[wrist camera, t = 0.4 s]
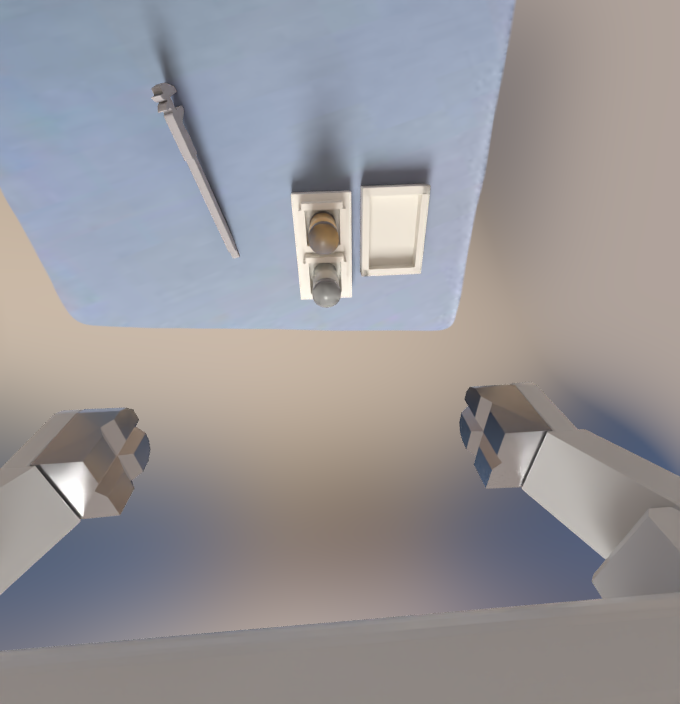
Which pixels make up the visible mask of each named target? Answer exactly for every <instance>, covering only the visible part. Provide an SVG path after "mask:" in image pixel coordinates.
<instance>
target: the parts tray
mask: <svg viewBox="0 0 680 704" xmlns="http://www.w3.org/2000/svg"><path fill="white" fill-rule="evenodd" d="M429 195H430V185H428V184H400V185H372V186H361V205H360V272H361V275H362V276H381V275H403V274H421V266H422V258H423V249H424V240H425V231H426V222H427V213H428V204H429Z"/></svg>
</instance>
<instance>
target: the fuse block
mask: <svg viewBox="0 0 680 704" xmlns="http://www.w3.org/2000/svg"><path fill="white" fill-rule="evenodd" d="M291 202H292V212H293V222H294V232H295V242H296V252H297V262H298V272H299V283H300V293H301V300H303V299H314V301H315V303H316V304H318V305H319V306H321V307H325V308H328V307H332V306H334V305H336V304H337V303H338V302H339V300H340V298H344V297H352V249H351V191H350V190H346V191H319V192H292V193H291ZM318 211H327V212H329V213H330V214H332V216H333V217H334V219H335V221H336V227H337V231H338V234H339V244H338V247H337V249H336V250H335V251H334V252H332V253H331V254H328V255H320V254H317V253H315V252H314V251H313V250H312V249H311V247H310V245H309V242H308V235H309V223H310V219H311V217H312V216H313V215H314V214H315V213H316V212H318Z"/></svg>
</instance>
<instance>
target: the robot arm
mask: <svg viewBox="0 0 680 704" xmlns="http://www.w3.org/2000/svg"><path fill="white" fill-rule="evenodd" d="M465 401H466V403H467V404H468V407H467V408H466V409H465V410H464V411H463V412H462V413H461V417H460V422H459V424H460V434H461V438H462V441H463V443H464V446H465V447H466V449H467V450H468V451H469V452H471V453H472V454H473V455H475V456H476V458H475V463H474V466H475V468H476V470H477V472H478V474H479V476H480V478H481V480H482V482H483V484H484V486H485V488H507V487H522V489H523V490H524V491H525V492H526V493H527V494H529V495H530V496H531V497H532V498H533V499H534V500H536V501H537V502H538V503H539V504H541V505H542V506H543V507H544V508H545V509H546V510H548V511H549V512H550V513H551V514H552V515H553V516H555V517H556V518H557V519H558V520H559V521H561V522H562V523H563V524H564V525H565V526H567V527H568V528H569V529H570V530H571V531H572V532H574V533H575V534H576V535H577V536H578V537H580V538H581V539H582V540H583V541H584V542H586V543H587V544H588V545H589V546H590V547H592V548H593V549H594V550H595V551H596V552H598V553H599V554H600V555H601V556H602V557H603V558H605V559H606V560H605V561H604V563H603V564H602V565H601V566H600V567H599V568H598V570H597V571H596V572H595V573H594V576H593V579H592V582H593V584H594V585H595V587H596V589H597V590H598V592H599V594H600V595H601V597H602V599H595V600H583V601H572V602H560V603H548V604H537V605H525V606H515V607H502V608H491V609H479V610H468V611H456V612H445V613H433V614H422V615H410V616H398V617H387V618H375V619H364V620H353V621H341V622H331V623H330V622H329V623H318V624H307V625H295V626H283V627H271V628H260V629H249V630H237V631H225V632H214V633H202V634H192V635H179V636H169V637H156V638H145V639H133V640H122V641H110V642H99V643H88V644H76V645H64V646H53V647H42V648H31V649H18V650H7V651H0V704H680V477H679V476H677V475H675V474H673V473H671V472H669V471H667V470H665V469H663V468H661V467H659V466H657V465H655V464H653V463H651V462H649V461H647V460H645V459H643V458H641V457H639V456H637V455H635V454H633V453H631V452H629V451H627V450H625V449H623V448H621V447H619V446H617V445H615V444H613V443H611V442H609V441H607V440H605V439H603V438H601V437H599V436H597V435H595V434H593V433H591V432H589V431H587V430H585V429H581V430H578V429H577V428H576V427H575V426H574V425H573V424H572V423H571V422H570V421H569V420H568V418H566V416H565V415H564V414H563V413H562V412H561V411H560V410H559V409H558V408H557V407H556V405H555V404H554V403H553V402H552V401H551V400H550V399H549V398H548V397H547V396H546V395H545V393H544V392H543V391H542V390H541V389H540V388H539V387H538V386H537V385H536V384H534V383H532V382H524V383H512V384H504V385H490V386H474V387H469V389H468V390H467V391H466V396H465ZM138 421H139V419H138V417H137V415H136V414H135V412H134V410H133V409H129V408H107V409H84V410H64V411H61V412H58V413H56V414H54V415H53V416H52V417H51V418H50V419H49V420H48V421H47V422H46V423H45V424H44V425H43V426H42V427H41V428H40V429H39V430H38V431H37V432H36V433H35V434H34V435H33V436H32V437H31V438H30V439H29V440H28V441H27V442H26V443H25V444H24V445H23V446H22V447H21V448H20V449H19V450H18V451H17V452H16V453H15V454H14V455H13V456H12V457H11V459H10V460H9V461H8V462H7V463H6V464H5V465H4V466H3V467H2V468H0V595H1V594H2V593H3V592H4V591H5V590H6V589H7V588H8V587H9V586H10V585H11V584H12V583H13V582H15V581H16V580H17V579H18V578H19V577H20V576H21V575H22V574H24V573H25V572H26V571H27V570H28V569H29V568H30V567H31V566H32V565H33V564H34V563H36V562H37V561H38V560H39V559H40V558H41V557H42V556H43V555H44V554H45V553H46V552H48V551H49V550H50V549H51V548H52V547H53V546H54V545H55V544H56V543H57V542H58V541H60V540H61V539H62V538H63V537H64V536H65V535H66V534H67V533H68V532H69V531H71V529H73V528H74V527H75V526H76V525H77V524H78V523H79V522H80V519H87V518H97V517H107V516H117V515H120V514H121V512H122V511H123V509H124V507H125V505H126V503H127V501H128V499H129V497H130V496H131V494H132V492H133V490H134V485H133V482H132V480H133V479H135V478H136V477H137V476H138V475H140V474H141V473H142V472H143V471H144V469H145V467H146V465H147V463H148V461H149V455H150V443H149V439H148V437H147V435H146V433H145V432H143V431H142V430H140V429H139V428H137V427H136V425H137V423H138Z"/></svg>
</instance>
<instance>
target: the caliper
mask: <svg viewBox="0 0 680 704" xmlns="http://www.w3.org/2000/svg"><path fill="white" fill-rule="evenodd" d="M152 92H153V94H154V96H153V97H151V98H152V100H154V101H155V102H159V104H158V113H160V112H164V118H165V120H166V122H167V124H168V126H169V128H170V131H171V133H172V135H173V137H174V139H175V141H176V143H177V145H178V147H179V150H180V152H181V154H182V156H183V158H184V160H185V161H186V162H187V164H188V166H189V168H190V170H191V172H192V174H193V177H194V179H195V181H196V183H197V185H198V187H199V189H200V192H201V194H202V196H203V198H204V200H205V202H206V204H207V207H208V209H209V211H210V213H211V215H212V217H213V219H214V222H215V224H216V226H217V228H218V230H219V232H220V234H221V237H222V239H223V241H224V243H225V245H226V247H227V249H228V251H229V252H230V253H231V255H232V257H233V258H237V257H240V256H239V253H238V251H237V249H236V245H235V242H234V240H233V237H232V235H231V233H230V230H229V228H228V226H227V224H226V221H225V219H224V217H223V215H222V213H221V210H220V208H219V206H218V204H217V201H216V199H215V197H214V194H213V192H212V190H211V188H210V185H209V183H208V181H207V179H206V176H205V174H204V172H203V170H202V167H201V165H200V163H199V161H198V158H197V156H196V154H197V151H196V149H195V147H194V145H193V143H192V140H191V138H190V136H189V134H188V132H187V130H186V129H185V127H184V125H183V115H184V109H183V106H182V105H181V106H177V107H174V104H173V102H172V100H171V98H170V97H171V96H172V95H173V94H174V93H175V92H177V91H176V89H175V87H174V86H172V85H170V84H167V83H161V84H157V85H155V86H154V87H153V88H152Z"/></svg>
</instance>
